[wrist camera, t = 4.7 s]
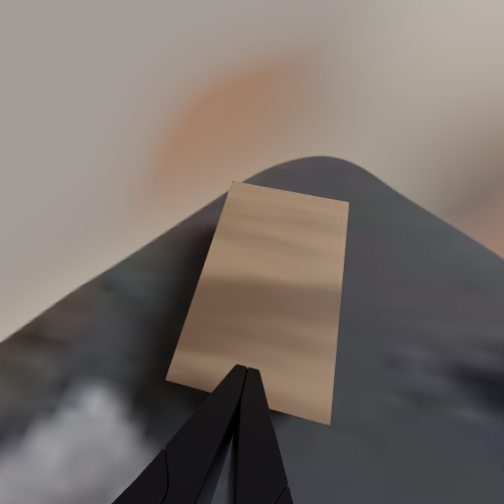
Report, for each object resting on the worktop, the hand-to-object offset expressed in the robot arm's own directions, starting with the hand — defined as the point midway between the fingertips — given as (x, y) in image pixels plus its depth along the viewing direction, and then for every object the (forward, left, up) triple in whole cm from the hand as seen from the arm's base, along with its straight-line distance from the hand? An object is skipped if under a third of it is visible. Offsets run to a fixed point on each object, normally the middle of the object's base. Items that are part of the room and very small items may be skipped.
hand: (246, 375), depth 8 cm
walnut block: (-1, 0, -4) cm, 5 cm away
